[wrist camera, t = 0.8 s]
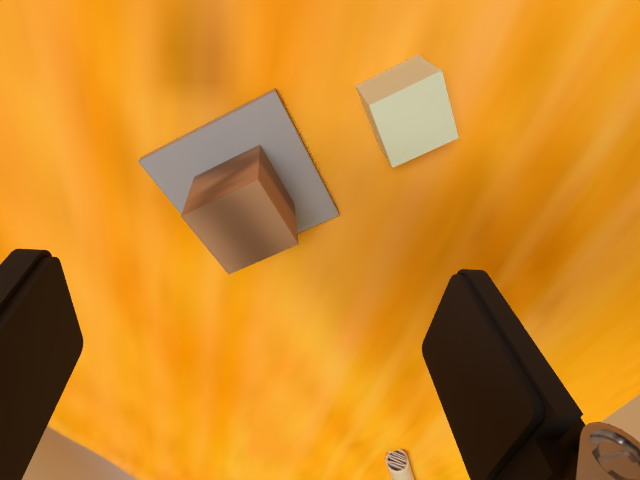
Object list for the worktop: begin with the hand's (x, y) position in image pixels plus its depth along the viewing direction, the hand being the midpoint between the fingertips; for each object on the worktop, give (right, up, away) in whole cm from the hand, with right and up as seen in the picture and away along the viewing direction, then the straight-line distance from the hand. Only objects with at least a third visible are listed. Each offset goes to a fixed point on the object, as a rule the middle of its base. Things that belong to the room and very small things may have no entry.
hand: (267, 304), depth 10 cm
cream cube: (+7, +13, +21) cm, 26 cm away
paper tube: (+17, -44, +63) cm, 79 cm away
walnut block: (-5, +6, +23) cm, 24 cm away
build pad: (-5, +6, +24) cm, 25 cm away
